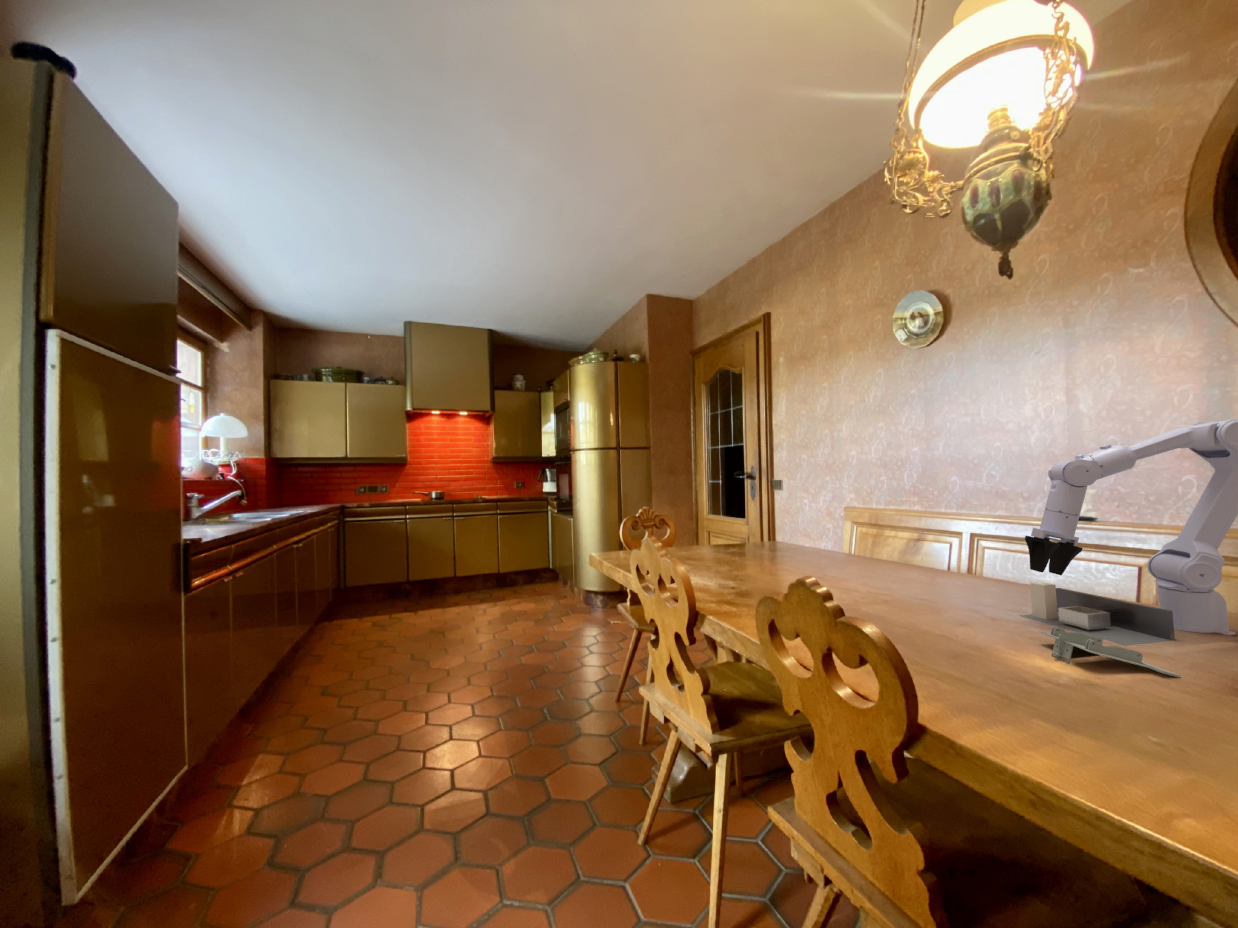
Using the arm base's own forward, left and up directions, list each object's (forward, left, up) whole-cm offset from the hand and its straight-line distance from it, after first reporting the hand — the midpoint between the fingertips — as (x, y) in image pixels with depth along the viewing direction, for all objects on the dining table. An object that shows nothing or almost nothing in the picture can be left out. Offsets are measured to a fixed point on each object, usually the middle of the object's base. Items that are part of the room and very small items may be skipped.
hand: (1045, 572), depth 104 cm
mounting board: (-3, +6, -11) cm, 13 cm away
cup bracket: (-4, +6, -10) cm, 12 cm away
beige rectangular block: (-1, -2, -10) cm, 11 cm away
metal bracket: (+12, +18, -12) cm, 25 cm away
